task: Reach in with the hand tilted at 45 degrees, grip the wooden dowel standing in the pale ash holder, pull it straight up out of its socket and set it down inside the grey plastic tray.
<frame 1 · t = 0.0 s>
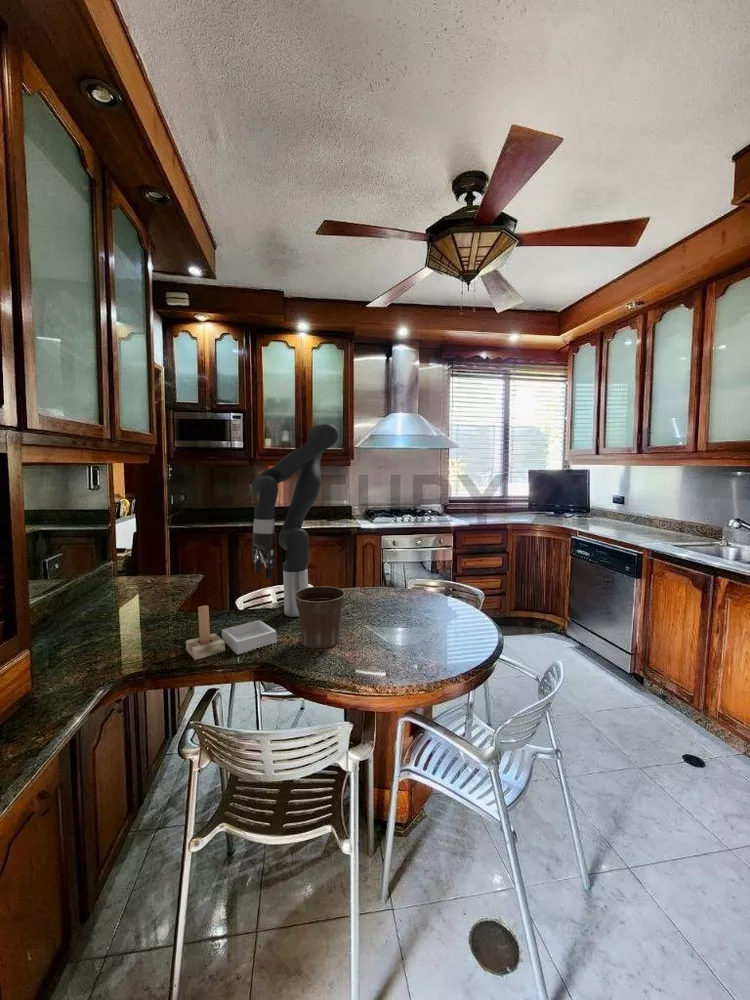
hand: (262, 575, 157), 17 cm above the counter, tool pointing down, fingers open, 8 cm apart
tray: (249, 642, 140), on the counter
dowel holder: (205, 650, 135), on the counter
dowel: (204, 629, 134), in the dowel holder
plant pot: (321, 642, 140), on the counter
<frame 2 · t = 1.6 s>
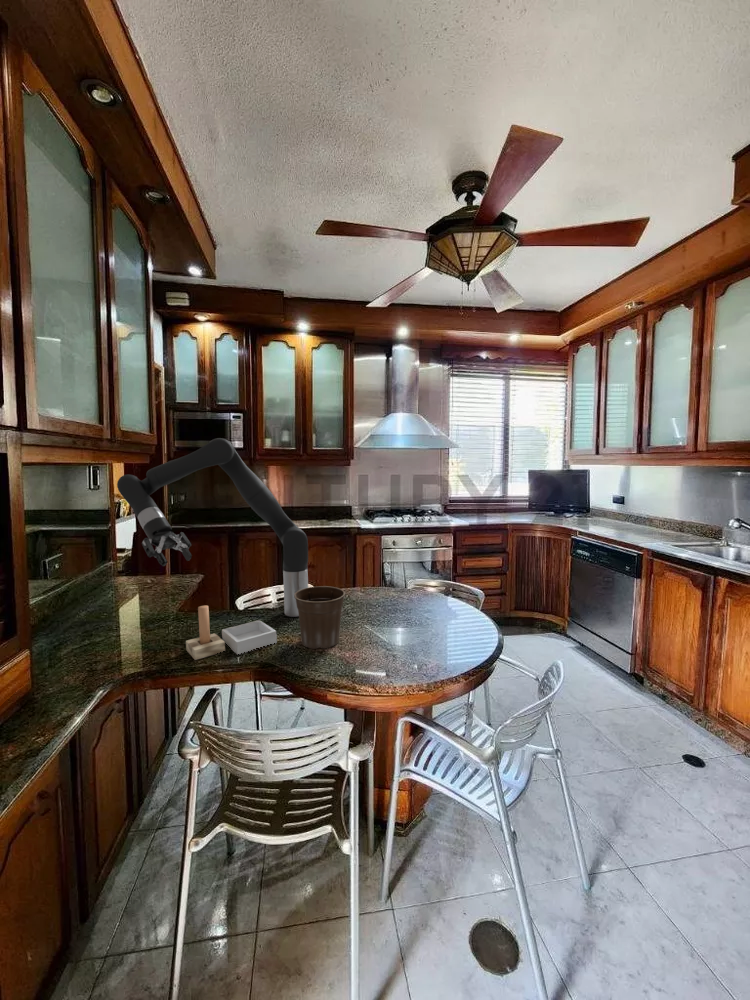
hand: (177, 561, 138), 27 cm above the counter, tool tilted 45°, fingers open, 8 cm apart
nothing on the counter moved.
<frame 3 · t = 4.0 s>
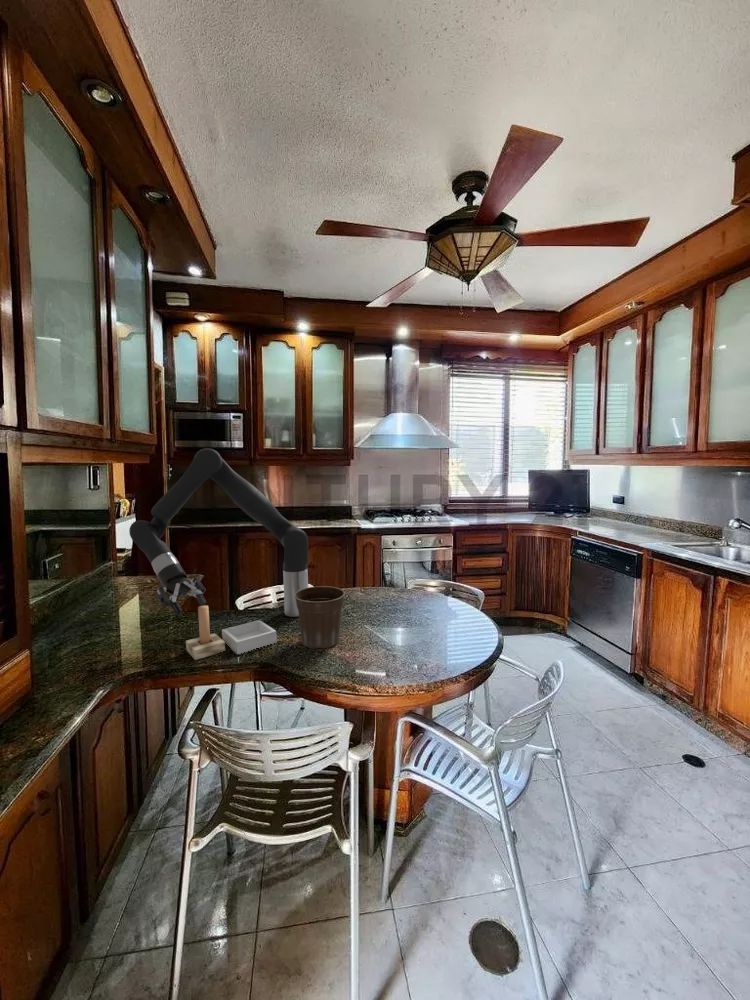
hand: (192, 609, 136), 12 cm above the counter, tool tilted 45°, fingers open, 8 cm apart
nothing on the counter moved.
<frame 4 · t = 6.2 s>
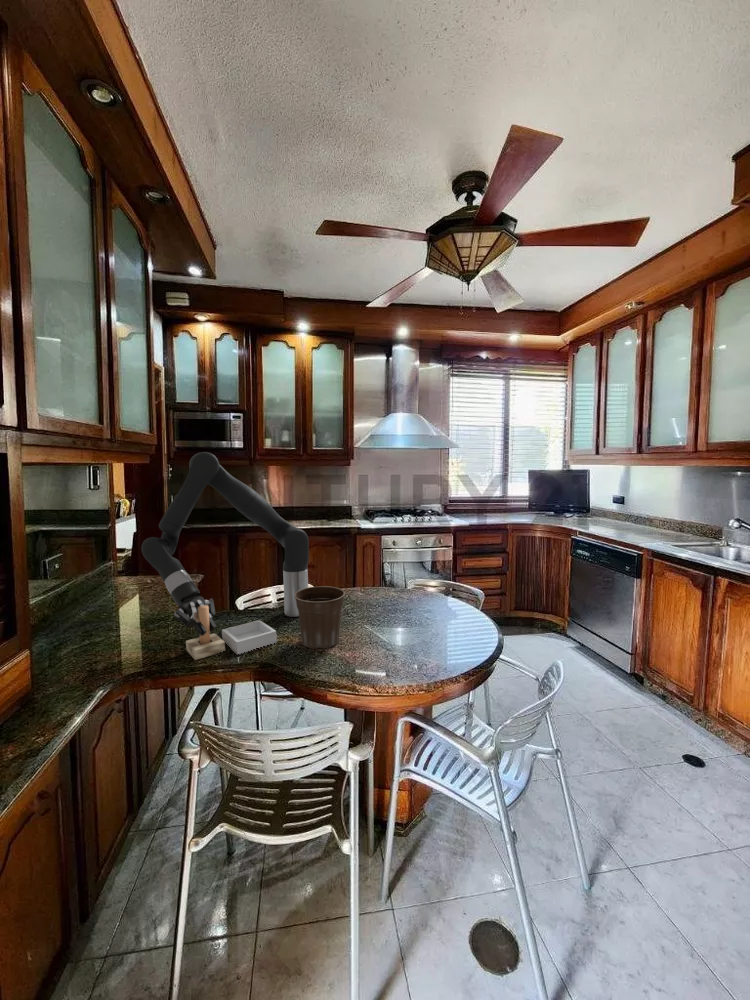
hand: (209, 631, 133), 6 cm above the counter, tool tilted 45°, fingers closed on dowel, 3 cm apart
dowel: (204, 629, 134), in the dowel holder, touching gripper
everything else where it was.
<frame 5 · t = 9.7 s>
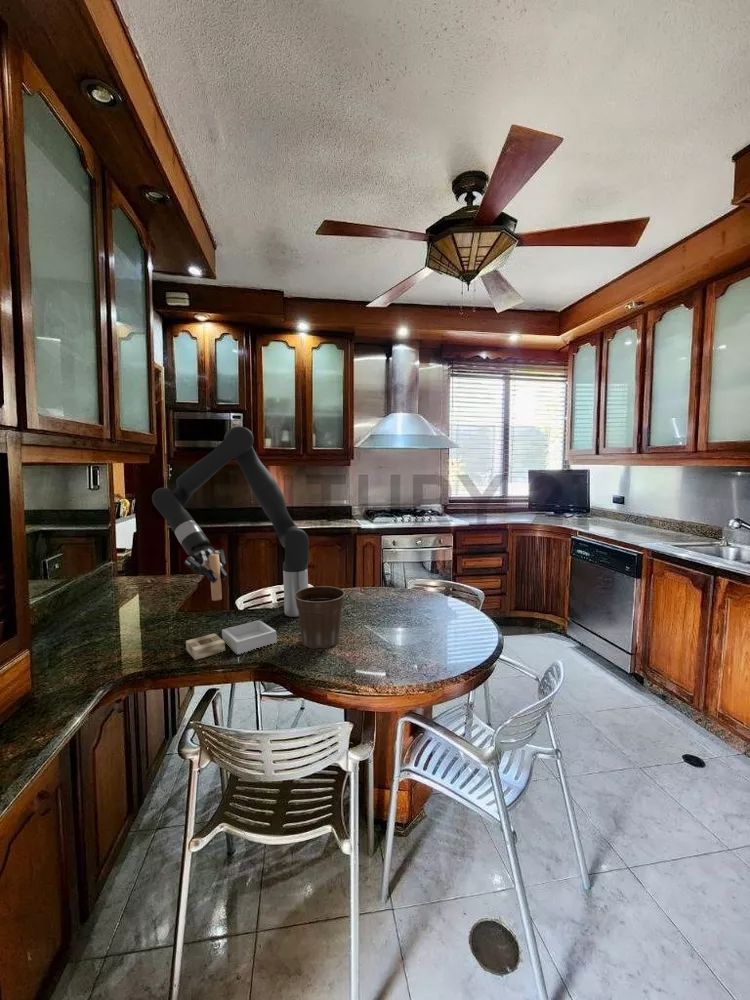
hand: (220, 579, 133), 22 cm above the counter, tool tilted 45°, fingers closed on dowel, 3 cm apart
dowel: (215, 577, 134), point 23 cm above the counter, touching gripper
everything else where it was.
when the fingers open (9 cm above the counter, at t = 13.2 s): dowel drops 1 cm, resting on tray.
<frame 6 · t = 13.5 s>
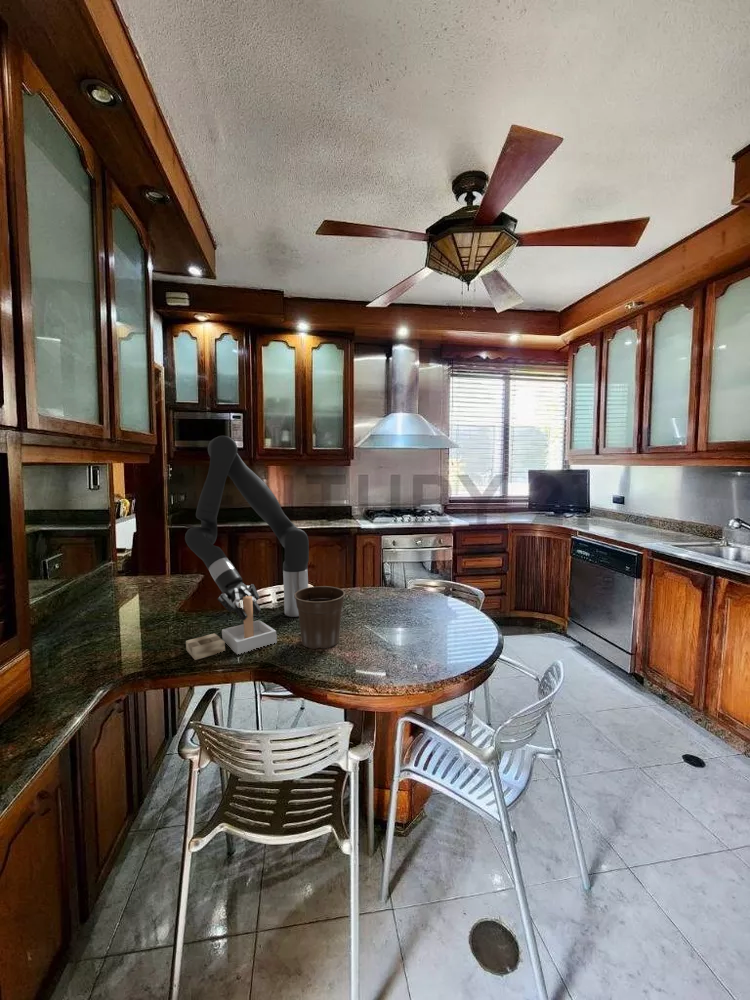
hand: (252, 615, 139), 9 cm above the counter, tool tilted 45°, fingers open, 5 cm apart
dowel: (248, 618, 140), in the tray, point 8 cm above the counter
everything else where it was.
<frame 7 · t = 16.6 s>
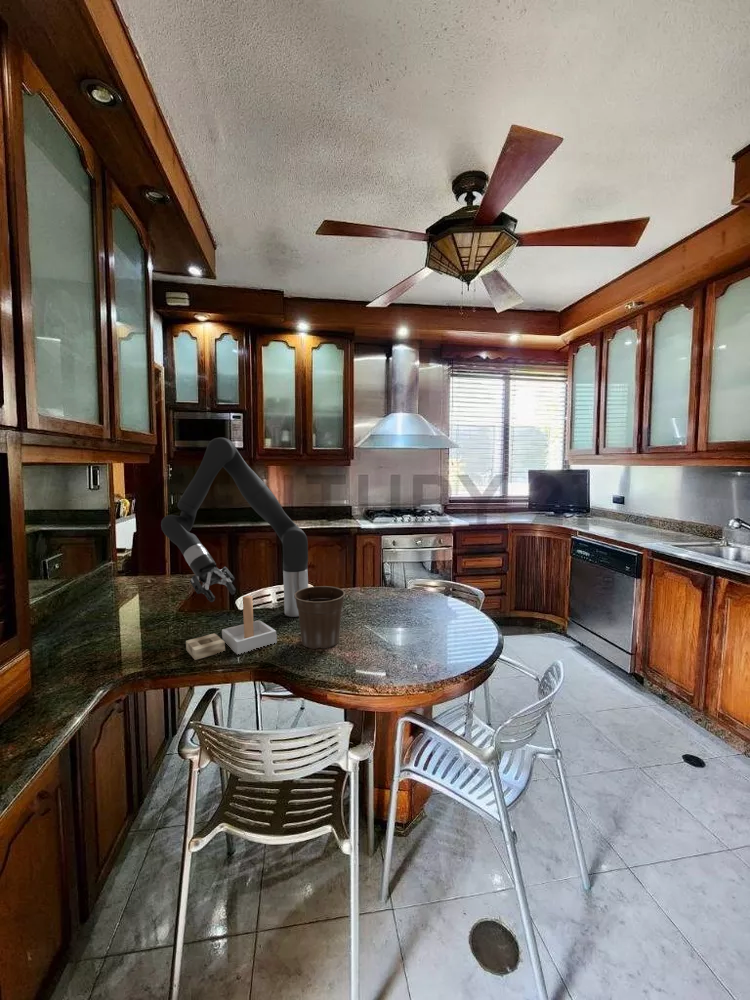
hand: (224, 596, 145), 13 cm above the counter, tool tilted 45°, fingers open, 8 cm apart
nothing on the counter moved.
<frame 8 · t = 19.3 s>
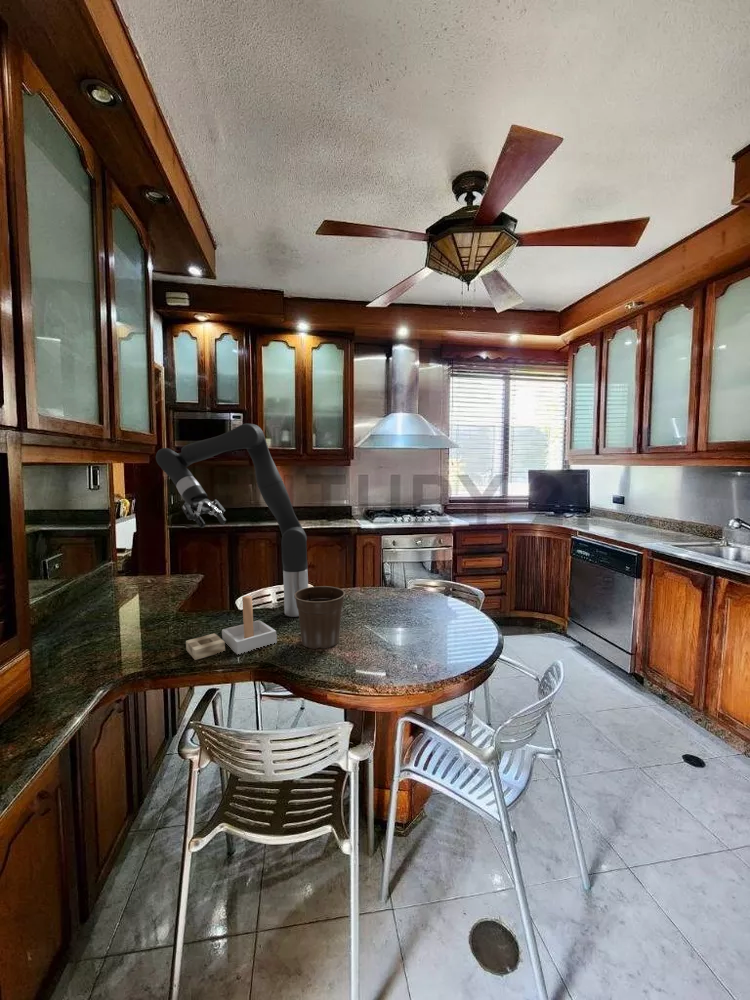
hand: (214, 524, 152), 37 cm above the counter, tool tilted 45°, fingers open, 8 cm apart
nothing on the counter moved.
at the end: dowel inside the target area on the tray (0.1 cm from its centre), point 8.0 cm above the tray's base; the gripper is holding nothing; dowel moved 13.3 cm from its start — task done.
